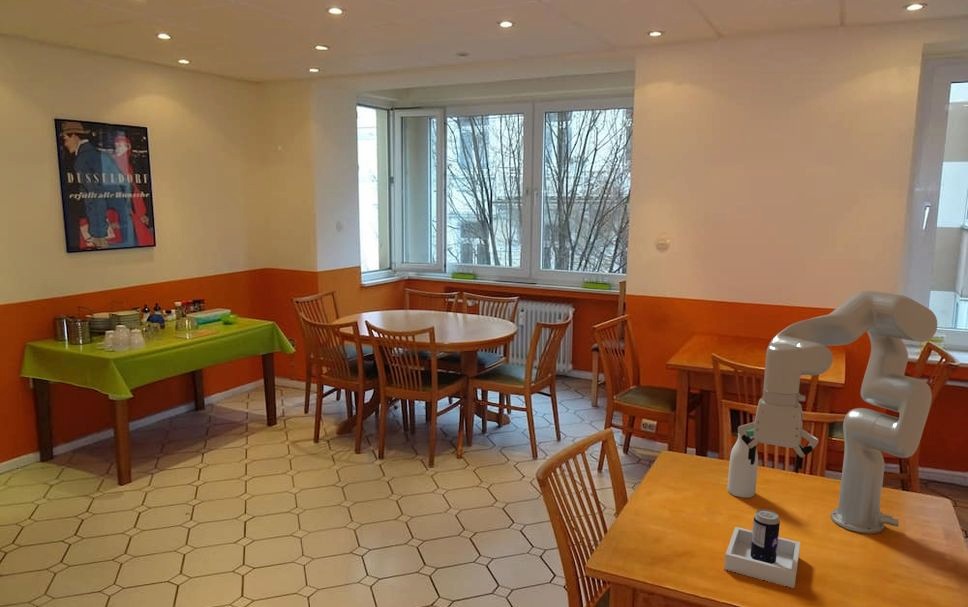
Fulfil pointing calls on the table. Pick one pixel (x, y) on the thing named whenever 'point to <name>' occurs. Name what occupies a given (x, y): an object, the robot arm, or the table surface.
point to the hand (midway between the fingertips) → (774, 466)
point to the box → (745, 565)
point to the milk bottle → (742, 469)
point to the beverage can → (765, 536)
